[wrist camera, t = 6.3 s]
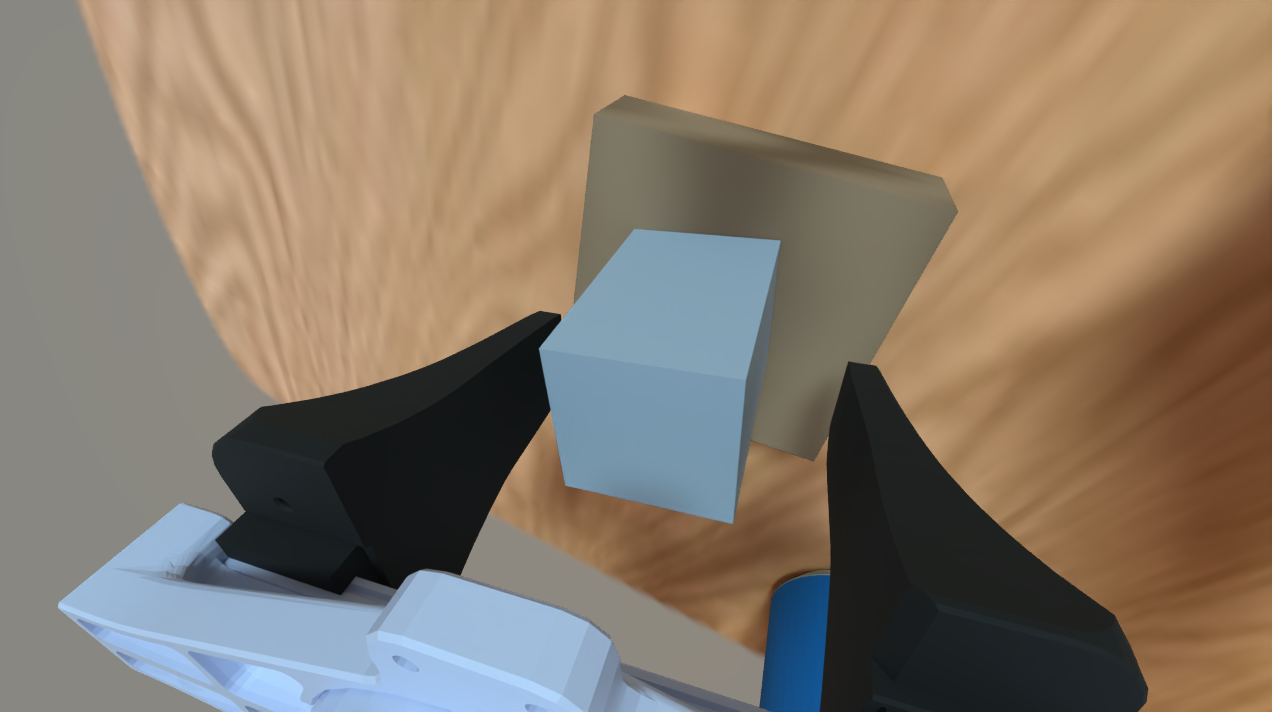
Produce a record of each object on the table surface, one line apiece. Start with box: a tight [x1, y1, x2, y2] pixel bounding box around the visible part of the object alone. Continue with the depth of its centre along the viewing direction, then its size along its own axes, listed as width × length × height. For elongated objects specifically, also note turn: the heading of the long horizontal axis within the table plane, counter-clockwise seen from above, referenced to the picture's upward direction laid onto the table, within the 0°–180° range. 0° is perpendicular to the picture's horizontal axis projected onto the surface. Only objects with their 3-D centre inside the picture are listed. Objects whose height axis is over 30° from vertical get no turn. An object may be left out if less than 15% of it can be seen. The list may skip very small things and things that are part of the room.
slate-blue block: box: [539, 229, 781, 524], centre depth 13 cm, size 4×4×6 cm
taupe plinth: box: [574, 95, 958, 461], centre depth 17 cm, size 9×9×3 cm
